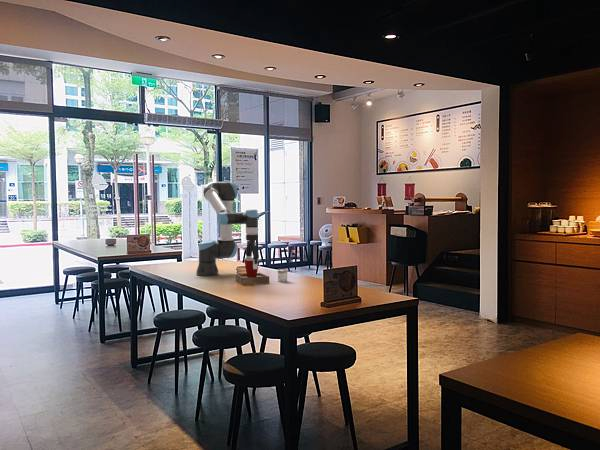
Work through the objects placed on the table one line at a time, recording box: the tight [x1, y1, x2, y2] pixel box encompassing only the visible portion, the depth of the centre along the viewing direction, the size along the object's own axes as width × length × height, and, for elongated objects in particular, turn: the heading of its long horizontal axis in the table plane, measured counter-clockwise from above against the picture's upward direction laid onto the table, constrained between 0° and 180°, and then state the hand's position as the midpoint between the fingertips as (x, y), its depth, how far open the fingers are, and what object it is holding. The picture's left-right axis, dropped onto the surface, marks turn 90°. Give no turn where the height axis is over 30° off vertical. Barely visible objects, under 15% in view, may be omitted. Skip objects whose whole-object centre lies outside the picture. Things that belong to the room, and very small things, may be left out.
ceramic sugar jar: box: [277, 269, 288, 283], centre depth 326 cm, size 7×7×7 cm
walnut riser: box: [235, 272, 270, 286], centre depth 323 cm, size 17×17×4 cm
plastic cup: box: [243, 257, 261, 278], centre depth 322 cm, size 11×11×12 cm
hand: (252, 267), depth 322 cm, fingers open, 13 cm apart
